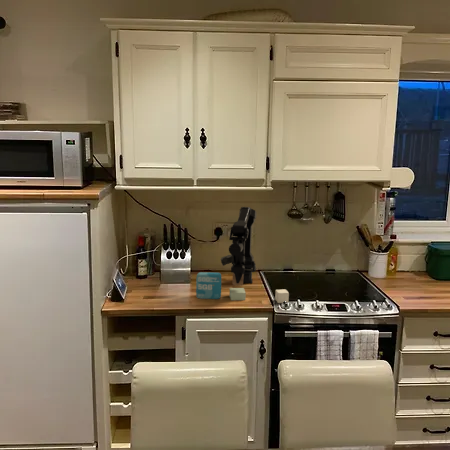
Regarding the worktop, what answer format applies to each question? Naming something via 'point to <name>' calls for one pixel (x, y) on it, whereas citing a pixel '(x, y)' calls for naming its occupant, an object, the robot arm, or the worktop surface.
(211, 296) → the data package
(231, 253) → the robot arm
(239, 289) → the sage base block
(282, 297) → the offwhite cube
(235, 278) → the walnut cube
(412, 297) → the worktop surface
